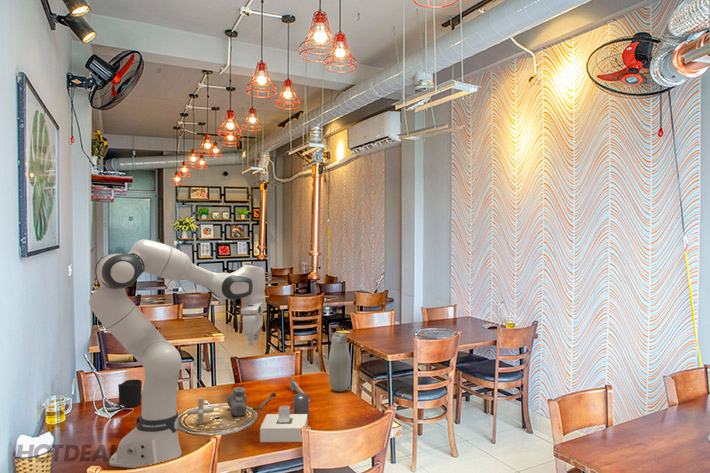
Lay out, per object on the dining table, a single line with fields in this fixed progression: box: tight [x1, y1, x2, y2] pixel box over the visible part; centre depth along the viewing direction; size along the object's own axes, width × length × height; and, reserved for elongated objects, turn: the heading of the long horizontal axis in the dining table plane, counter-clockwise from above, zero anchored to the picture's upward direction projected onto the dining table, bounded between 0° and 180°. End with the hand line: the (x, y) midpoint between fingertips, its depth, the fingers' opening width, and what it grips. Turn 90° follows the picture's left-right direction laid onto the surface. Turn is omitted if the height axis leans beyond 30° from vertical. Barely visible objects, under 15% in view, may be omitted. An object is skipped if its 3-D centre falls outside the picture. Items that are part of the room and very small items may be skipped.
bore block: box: [259, 413, 309, 443], centre depth 182 cm, size 16×14×5 cm
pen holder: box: [118, 379, 143, 408], centre depth 215 cm, size 9×9×10 cm
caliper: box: [289, 377, 311, 403], centre depth 227 cm, size 21×1×6 cm, turn 31°
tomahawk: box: [252, 392, 276, 412], centre depth 218 cm, size 22×7×1 cm, turn 167°
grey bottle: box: [328, 332, 351, 392], centre depth 234 cm, size 10×10×28 cm
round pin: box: [292, 392, 310, 419], centre depth 199 cm, size 6×6×9 cm
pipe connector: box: [186, 397, 215, 425], centre depth 193 cm, size 10×10×10 cm
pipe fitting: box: [226, 386, 247, 418], centre depth 205 cm, size 12×8×10 cm
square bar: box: [278, 405, 292, 424], centre depth 182 cm, size 4×4×10 cm
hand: (253, 342), depth 184 cm, fingers open, 8 cm apart
